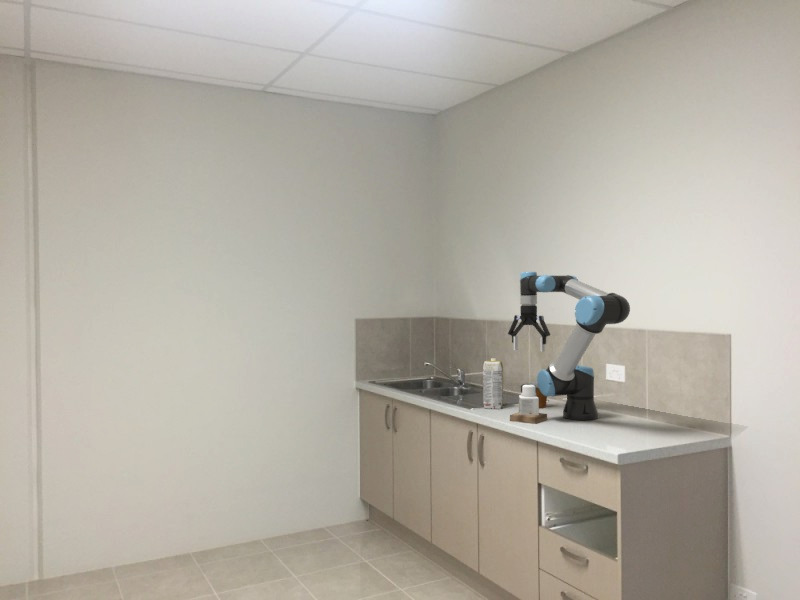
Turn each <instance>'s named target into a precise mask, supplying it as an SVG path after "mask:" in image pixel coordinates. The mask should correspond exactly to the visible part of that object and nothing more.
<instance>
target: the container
mask: <svg viewBox="0 0 800 600" xmlns="http://www.w3.org/2000/svg"><path fill="white" fill-rule="evenodd" d="M539 409H540V408H539V398H538V397H537V396H536V386H535V385H534V384H530V383H523V384H522V385H520V394H519V395H518V412H519V413H520V414H521V415H539V413H540V411H539Z"/></svg>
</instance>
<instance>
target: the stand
mask: <svg viewBox="0 0 800 600" xmlns="http://www.w3.org/2000/svg"><path fill="white" fill-rule="evenodd" d="M547 420H548V413H544V412H543V413H542V412H539V415H521V414H520V413H519V411H518V412H515V413H512V414H509V421H510V422H519V423H525V424H535V425H536V424H538V423H542V422H544V421H547Z"/></svg>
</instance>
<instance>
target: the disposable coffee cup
mask: <svg viewBox="0 0 800 600" xmlns="http://www.w3.org/2000/svg"><path fill="white" fill-rule="evenodd" d="M529 384H534V385H535V386H536V396H537V397H538V398H539V409H545V408H546V407H547V400H548V396H545V395H543V394H542V393H541V392H540V390H539V388H538V384H537V380H536V381H530V382H529Z"/></svg>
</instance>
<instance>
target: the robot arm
mask: <svg viewBox="0 0 800 600" xmlns="http://www.w3.org/2000/svg"><path fill="white" fill-rule="evenodd" d="M519 283H520V285H519V288H520V292H519V293H520V301H519V302H520V303H519V304H520V306H519V307H520V314H519V315H518V314H515V315H514V317H513V321H512V324H511V326H510V327H509V330H508V332H507V334H508V335H509V336H511V344H513V351H518V349H519V345H518V344H519V340H518V339H519V338H518V337H519V336H517V335H518V333H519V332H520V331H521V330H522V328H523V327H524V326H533V327H534V328H535V329H536V331H537V332H538V334H540V336H541V337H540V341H539V342H540V352H541V353H542V352H545V351H546V350H545V345H547V338H548V337H550V336H551V333H550V330H549V329H548V326H547V324H546V322H545V318H544V315H538V305H537V304H538V293H564V294H566V295H568V296H570V297H573V298H574V299H578V301H577V303H576V305H575V307H574V310H575V312H574V316H575V317H574V318H575V323H576V325H575V326H574V328H573V330H572V332H570V335H569V337H568V338H567V340H566V342H565V344H564V346H563V347H562V349H561V351H560V353H559V354H558V356H557V358H556V360H553V361H551V362H550V363H549V365H548V366H547V368H546V369H541V370H539V371H538V373H537V376H536V381H537V384H538V388H539V390H540V392H541V393H542V394H543V395H545V396H547V397H553V398H554V397H559V396H566V401H565V404H564V408H563V410H562V417H563V418H565V419H569V420H576V421H592V420H593V421H594V420H597V419H599V412H598V409H597V406H596V402H595V391H594V389H595V388H594V387H595V376H594V375H595V374H594V369H593V367H590V366H587V365H586V366H585V365H579V363H580V361H581V360H582V357H583V356H584V354H585V352H586V351H587V350H588V348H589V346H590V344H591V343H592V342H593V340H594V337H596V335H598V334H600V333H602V332H603V330H604V328H605V327H606V325H616V324H620V323H623V322H624V321H625V320H627V319H628V317H629V315H630V311H631V307H630V303H629V301H628V300H627V299H626V298H625V297H624V296H622V295H620V294H617V293H615V292H609V293H608V292H606V291H604V290H601V289H600V288H597V287H594V286H592V285H589V284H587V283H584V282H582V281H579V279H578V278H577V276H575V275H569V274H567V275H547V274H546V275H545V274H543V275H542V274H541V275H538V273H537V272H536V271H522V272H520V279H519ZM537 320H538V321H539V323H538V321H537ZM519 321H520V322H519ZM518 322H519V324H518ZM539 324H540V325H539ZM516 326H517V327H516Z"/></svg>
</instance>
